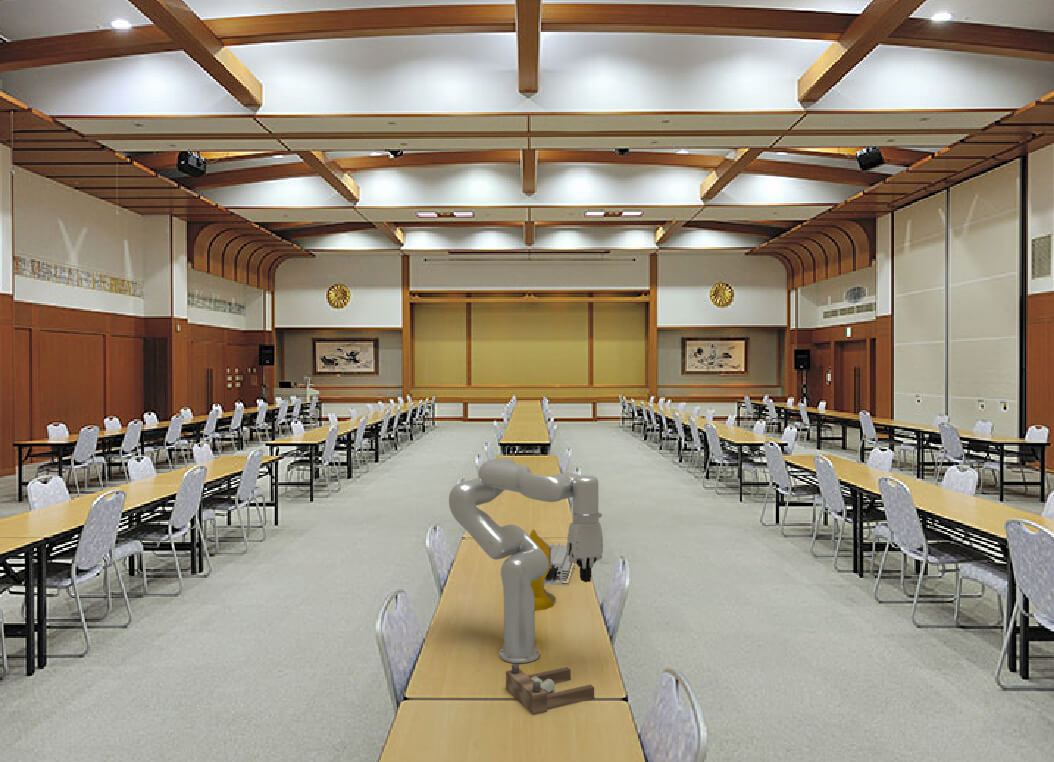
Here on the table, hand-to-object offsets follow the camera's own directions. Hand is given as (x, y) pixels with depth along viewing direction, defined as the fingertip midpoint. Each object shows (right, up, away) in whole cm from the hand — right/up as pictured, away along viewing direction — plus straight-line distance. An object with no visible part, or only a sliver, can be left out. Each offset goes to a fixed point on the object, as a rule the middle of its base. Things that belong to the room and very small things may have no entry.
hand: (585, 580), depth 216 cm
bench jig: (-12, -27, -14) cm, 33 cm away
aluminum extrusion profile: (-5, -26, +103) cm, 106 cm away
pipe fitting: (-13, -28, -14) cm, 33 cm away
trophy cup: (-16, -26, +64) cm, 71 cm away
